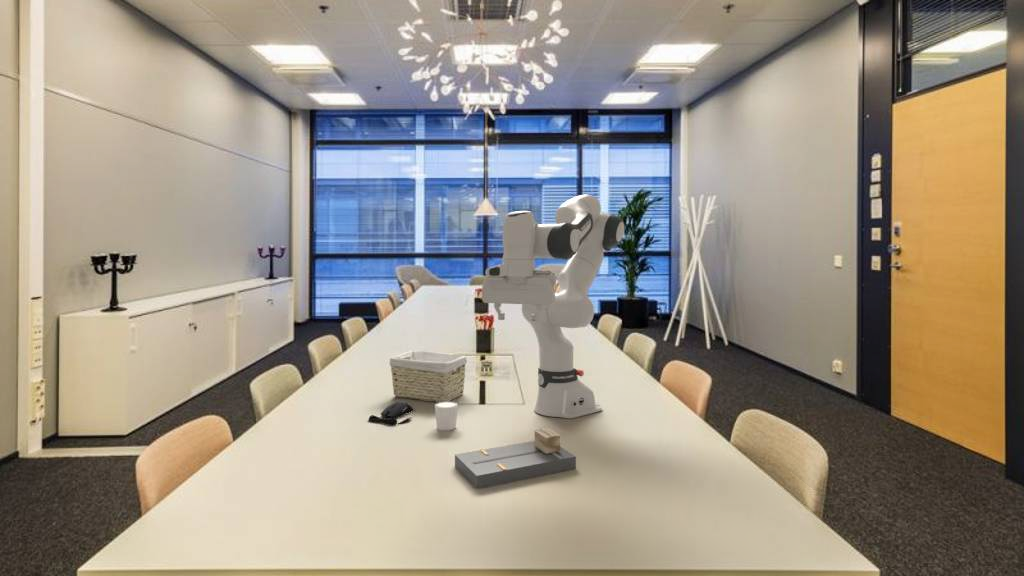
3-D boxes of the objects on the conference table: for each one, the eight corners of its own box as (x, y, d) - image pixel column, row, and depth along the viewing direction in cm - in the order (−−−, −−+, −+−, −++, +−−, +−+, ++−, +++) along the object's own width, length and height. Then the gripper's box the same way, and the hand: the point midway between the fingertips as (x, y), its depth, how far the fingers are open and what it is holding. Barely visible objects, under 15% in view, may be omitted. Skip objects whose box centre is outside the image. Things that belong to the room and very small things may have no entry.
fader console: (547, 449, 147) (547, 437, 146) (575, 468, 134) (575, 455, 134) (454, 466, 135) (454, 453, 135) (476, 488, 123) (476, 474, 122)
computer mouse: (431, 414, 179) (431, 401, 179) (395, 429, 164) (394, 415, 164) (402, 408, 186) (402, 396, 185) (364, 422, 170) (364, 409, 170)
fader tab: (548, 443, 142) (548, 427, 142) (560, 451, 137) (560, 434, 136) (534, 445, 140) (534, 429, 140) (546, 453, 135) (546, 437, 134)
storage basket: (468, 394, 202) (468, 354, 201) (446, 405, 188) (446, 362, 186) (413, 387, 212) (412, 349, 211) (388, 398, 197) (387, 357, 196)
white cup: (453, 431, 161) (453, 408, 160) (431, 430, 162) (431, 406, 161) (460, 424, 167) (460, 401, 167) (439, 423, 169) (439, 400, 168)
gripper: (558, 270, 151) (557, 320, 152) (486, 269, 156) (486, 317, 157) (554, 271, 145) (553, 323, 146) (479, 269, 150) (479, 320, 151)
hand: (517, 320), depth 151 cm, fingers open, 8 cm apart
